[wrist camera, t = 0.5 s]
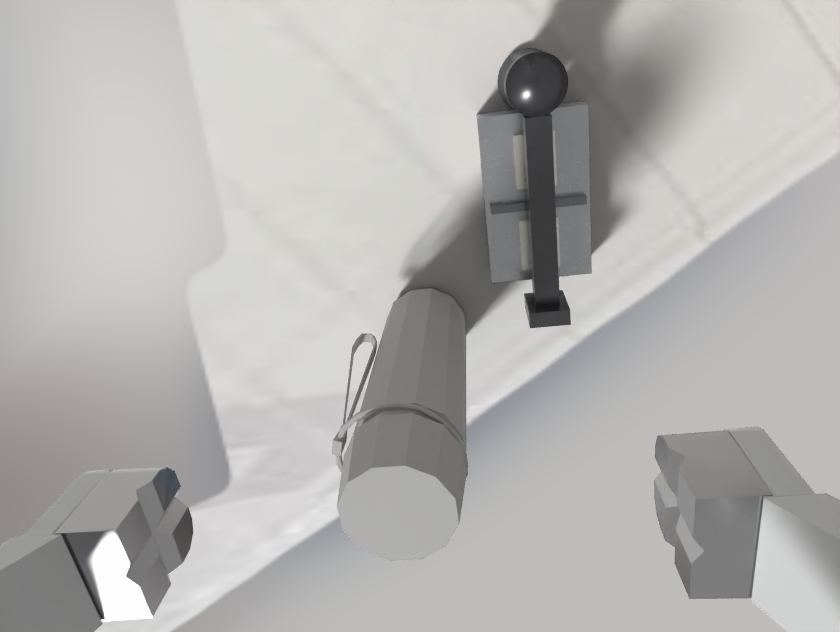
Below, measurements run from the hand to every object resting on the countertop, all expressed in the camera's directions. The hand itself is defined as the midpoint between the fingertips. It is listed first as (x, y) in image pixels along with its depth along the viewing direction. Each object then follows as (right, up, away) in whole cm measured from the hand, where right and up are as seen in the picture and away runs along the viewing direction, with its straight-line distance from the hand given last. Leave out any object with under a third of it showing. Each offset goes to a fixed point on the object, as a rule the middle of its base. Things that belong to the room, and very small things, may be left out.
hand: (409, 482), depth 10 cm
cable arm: (+9, +12, +35) cm, 38 cm away
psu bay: (+9, +13, +39) cm, 42 cm away
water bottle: (0, +3, +45) cm, 45 cm away
